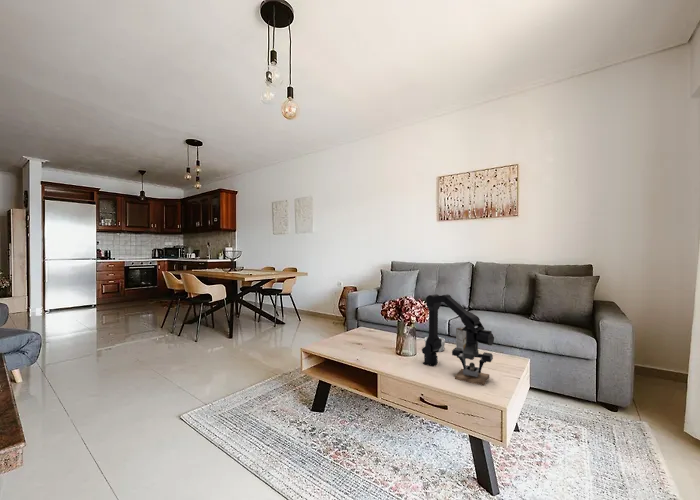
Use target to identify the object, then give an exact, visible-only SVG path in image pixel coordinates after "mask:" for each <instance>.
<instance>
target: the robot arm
mask: <svg viewBox="0 0 700 500" xmlns="http://www.w3.org/2000/svg"><path fill="white" fill-rule="evenodd" d="M442 303H444V304H445V305H446V306H447V307H448V308H449V309H451V310H452V311H453V312H454V313H455V314H456V315H457V316H458V318H460V320H461V322H462V324H463V325H464V328H463V329H462V330H463V331H466V344H465V349H464V351H463V349H462V348H456V347H455V348H453V349H452V350H451V351H452V352H451V355H452V356H455V357H456V358H458V359H459V360H460V362H461V365H462V369H464V368H465V367H466V366H467V365H466V364H467V363H466V361H467V360H470V361H472V360H473V361H474V359H475V358H480V359H479V361H478V362H479V363H478V364H479V366H478V367H479V373H480V372H481V373H482V369H483V366H484V364H486V363H491V362H492V361H493V359H494V358H493V357H494V355H493V354H492V353H490V352H483V353H480V352H479V344H483V345H487V346H492V345H493V344H494V342H495V337H494V334H493V333H492V330H486V329H485V327H484V326H483V324H482V322H481V320H480V317H479V316H477V315H476V314H474V313H472V312H471V311H469V310H466V309H465V308H464V307H463V306H462V305H461V304H459V302H457V301H456V300H455V299H454V298H453V297H452V296H451V295H450V294H448V293H447V294H442V295H439V294H437V293H436V294H434V293H433V294H429V295H427V296H426V298H425V304H426V308H427V309H428V336H427V337H428V338H427V340H426V346H425V345H424V347H422V349H421V352H422V354H423V355H424V358H423V359H424V360H423V364H424V365H426V366H427V365H428V366H432V367H435V366H436V365H437V364H438V362H439V360H438V355H437V353H439V352H438V351H439V349H440V348H441V346H442V344H441V342H442V339H439V337H440V336H439V334H438V333H439V328H438V327H439V325H438V324H439V309H440V307H441V304H442Z"/></svg>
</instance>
